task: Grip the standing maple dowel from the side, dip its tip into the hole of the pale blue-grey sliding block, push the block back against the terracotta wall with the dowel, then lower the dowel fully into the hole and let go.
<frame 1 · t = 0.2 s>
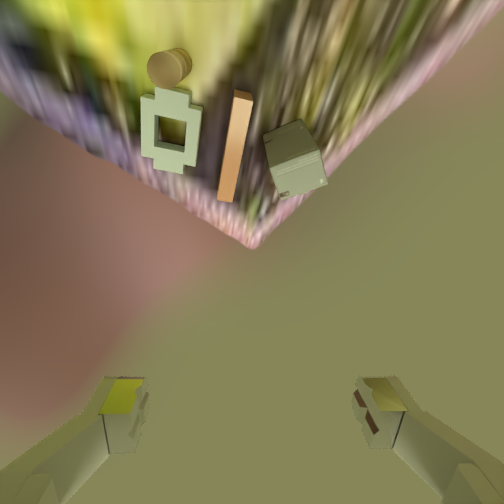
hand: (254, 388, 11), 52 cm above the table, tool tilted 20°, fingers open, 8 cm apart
wall: (233, 141, 55), on the table
dowel: (180, 63, 47), on the table
block: (171, 131, 51), point 2 cm above the table, slide at 0.0 cm
skincare box: (285, 143, 56), on the table
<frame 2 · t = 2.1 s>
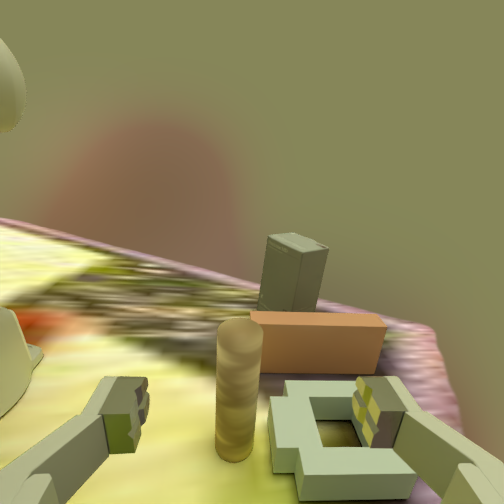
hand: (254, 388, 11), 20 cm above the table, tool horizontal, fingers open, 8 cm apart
wall: (309, 365, 40), on the table
dowel: (234, 442, 29), on the table
block: (338, 431, 29), point 2 cm above the table, slide at 0.0 cm
skincare box: (285, 324, 50), on the table
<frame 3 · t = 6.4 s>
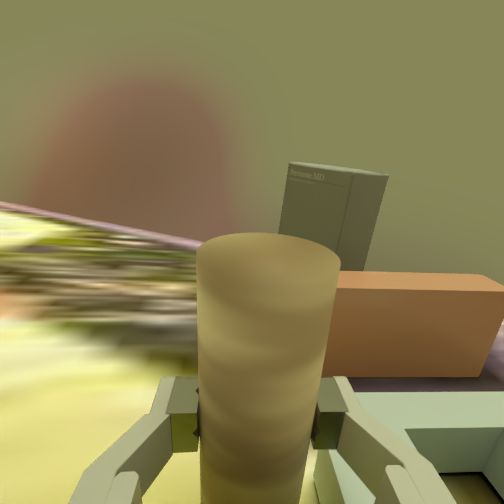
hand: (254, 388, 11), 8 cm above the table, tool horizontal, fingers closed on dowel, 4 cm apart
wall: (365, 363, 24), on the table
skincare box: (313, 303, 33), on the table
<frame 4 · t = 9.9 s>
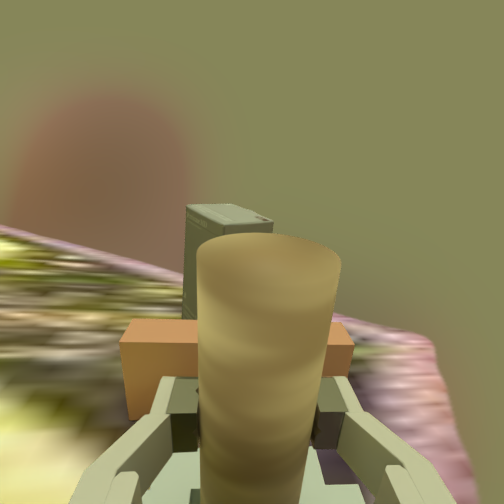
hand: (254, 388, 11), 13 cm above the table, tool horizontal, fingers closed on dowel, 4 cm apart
wall: (236, 404, 25), on the table
skincare box: (221, 335, 35), on the table
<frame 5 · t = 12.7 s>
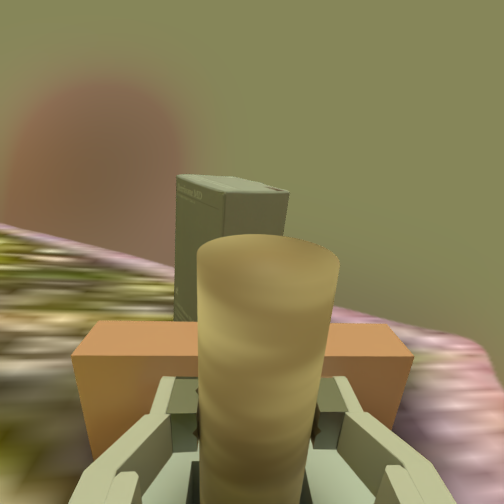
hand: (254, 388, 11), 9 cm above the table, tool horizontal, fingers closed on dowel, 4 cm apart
wall: (243, 436, 19), on the table
skincare box: (222, 339, 28), on the table
when the fingers open (9 cm above the table, at t = 13.5 s): dowel stays where it is, resting in block.
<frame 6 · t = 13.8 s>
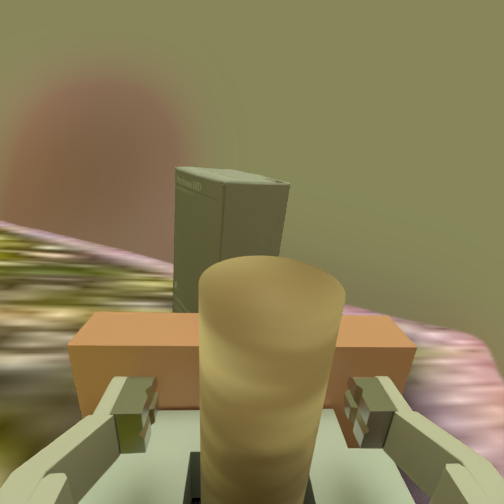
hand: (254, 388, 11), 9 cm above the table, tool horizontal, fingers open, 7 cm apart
wall: (242, 430, 18), on the table
skincare box: (222, 335, 28), on the table
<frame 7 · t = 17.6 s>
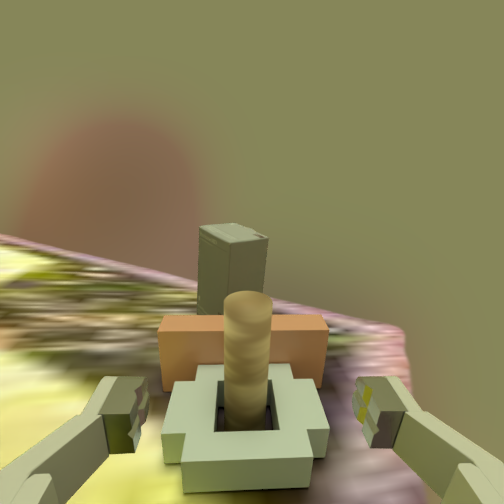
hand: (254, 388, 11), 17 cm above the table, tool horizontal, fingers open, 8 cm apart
wall: (243, 379, 33), on the table
dowel: (244, 426, 27), resting in block
block: (245, 417, 26), point 2 cm above the table, slide at 4.8 cm
skincare box: (229, 329, 43), on the table
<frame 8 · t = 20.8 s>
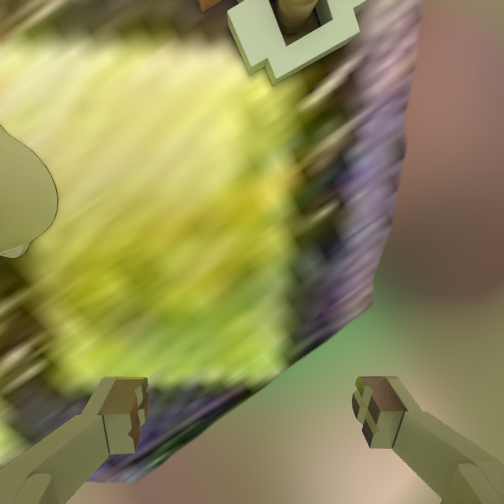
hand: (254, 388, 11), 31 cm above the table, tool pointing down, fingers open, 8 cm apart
dowel: (289, 14, 32), resting in block
block: (295, 12, 30), point 2 cm above the table, slide at 4.8 cm
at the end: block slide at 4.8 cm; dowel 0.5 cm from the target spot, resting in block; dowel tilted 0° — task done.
